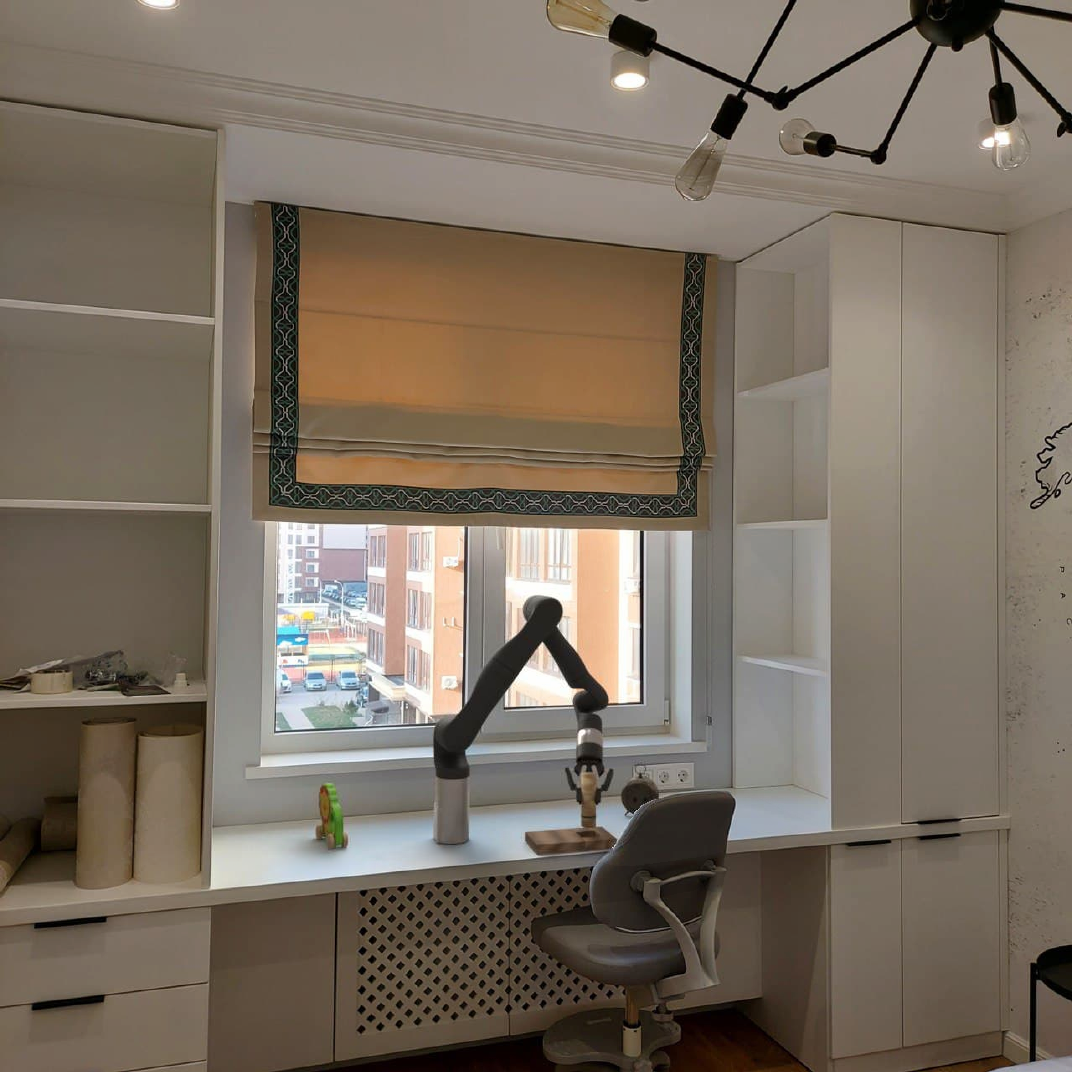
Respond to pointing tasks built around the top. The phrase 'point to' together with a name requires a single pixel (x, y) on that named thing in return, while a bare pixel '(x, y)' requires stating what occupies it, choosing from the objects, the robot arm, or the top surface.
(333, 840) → the toy lion
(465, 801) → the robot arm
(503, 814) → the top surface
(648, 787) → the alarm clock
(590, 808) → the oak peg
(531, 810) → the top surface
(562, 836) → the walnut board
